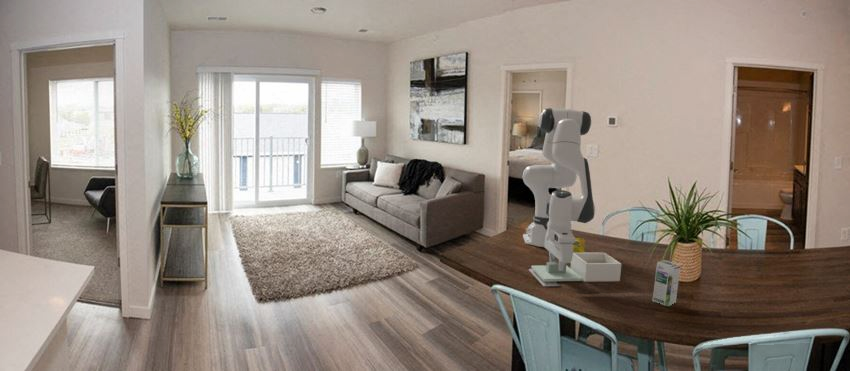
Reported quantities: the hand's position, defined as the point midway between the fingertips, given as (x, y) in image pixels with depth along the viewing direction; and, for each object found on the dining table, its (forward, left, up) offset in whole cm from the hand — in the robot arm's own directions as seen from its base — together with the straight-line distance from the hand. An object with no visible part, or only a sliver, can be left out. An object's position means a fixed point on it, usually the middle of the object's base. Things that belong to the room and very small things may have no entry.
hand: (556, 266), depth 189 cm
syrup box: (+25, +30, -5) cm, 39 cm away
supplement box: (-16, +15, -5) cm, 22 cm away
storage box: (0, +16, -5) cm, 17 cm away
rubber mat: (0, 0, -5) cm, 5 cm away
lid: (0, 0, -3) cm, 3 cm away
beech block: (-2, +18, -4) cm, 18 cm away
